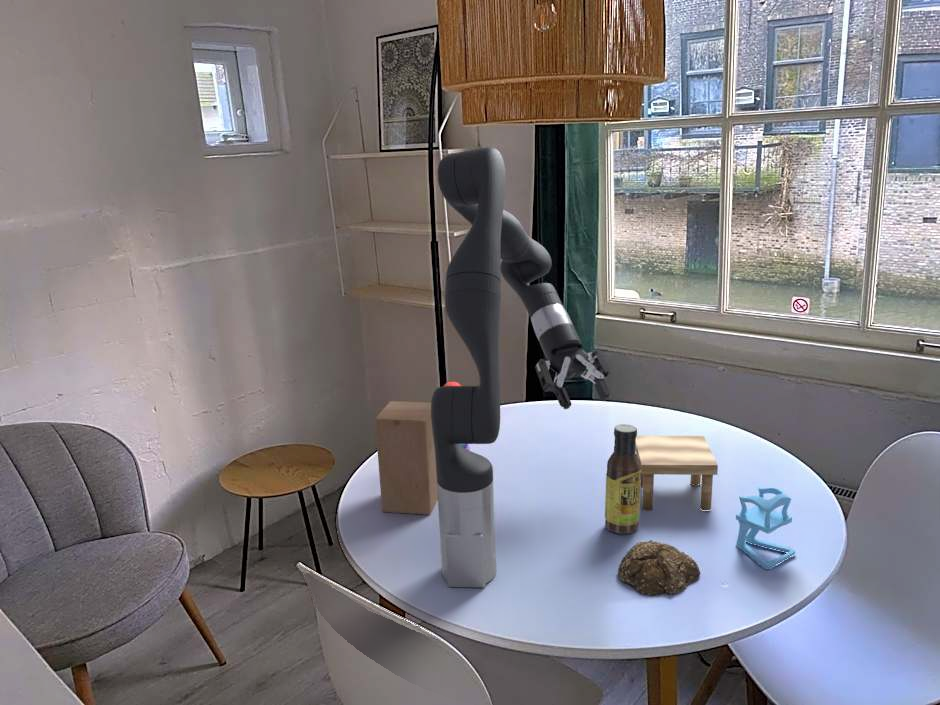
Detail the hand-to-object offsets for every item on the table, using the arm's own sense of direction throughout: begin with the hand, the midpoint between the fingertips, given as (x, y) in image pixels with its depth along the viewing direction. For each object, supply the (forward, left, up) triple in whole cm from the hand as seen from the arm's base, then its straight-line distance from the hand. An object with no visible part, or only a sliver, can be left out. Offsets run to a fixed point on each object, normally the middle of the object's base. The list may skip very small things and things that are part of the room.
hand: (587, 403), depth 149 cm
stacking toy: (+19, +29, -21) cm, 41 cm away
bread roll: (-25, -10, -21) cm, 35 cm away
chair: (-18, -29, -21) cm, 40 cm away
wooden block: (-1, +35, -21) cm, 41 cm away
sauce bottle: (-10, -6, -21) cm, 24 cm away
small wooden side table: (+3, -17, -21) cm, 27 cm away
